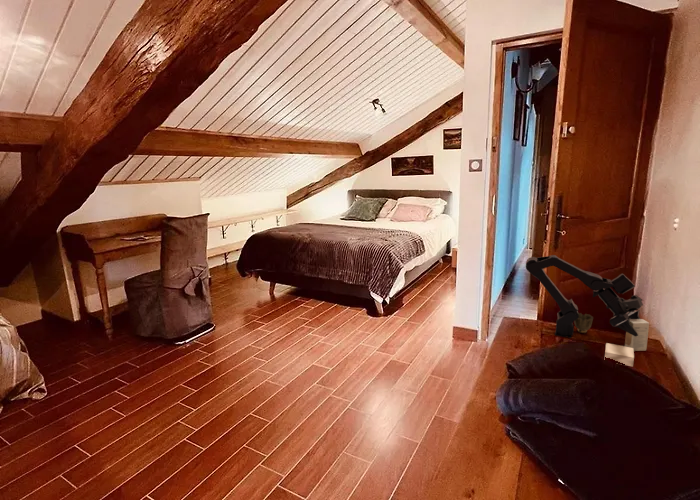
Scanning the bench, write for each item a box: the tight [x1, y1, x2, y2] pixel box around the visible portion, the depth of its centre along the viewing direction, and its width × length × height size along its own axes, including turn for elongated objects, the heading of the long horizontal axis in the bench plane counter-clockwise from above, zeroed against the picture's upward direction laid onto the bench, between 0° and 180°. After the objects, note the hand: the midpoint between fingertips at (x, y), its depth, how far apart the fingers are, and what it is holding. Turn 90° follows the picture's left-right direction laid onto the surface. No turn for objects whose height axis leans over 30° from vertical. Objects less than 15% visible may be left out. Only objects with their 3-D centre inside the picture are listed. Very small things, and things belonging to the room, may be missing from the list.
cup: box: [573, 312, 594, 334], centre depth 176 cm, size 8×7×8 cm
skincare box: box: [624, 318, 650, 352], centre depth 159 cm, size 6×4×12 cm
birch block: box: [604, 342, 635, 368], centre depth 152 cm, size 9×9×4 cm
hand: (640, 332), depth 158 cm, fingers open, 9 cm apart
